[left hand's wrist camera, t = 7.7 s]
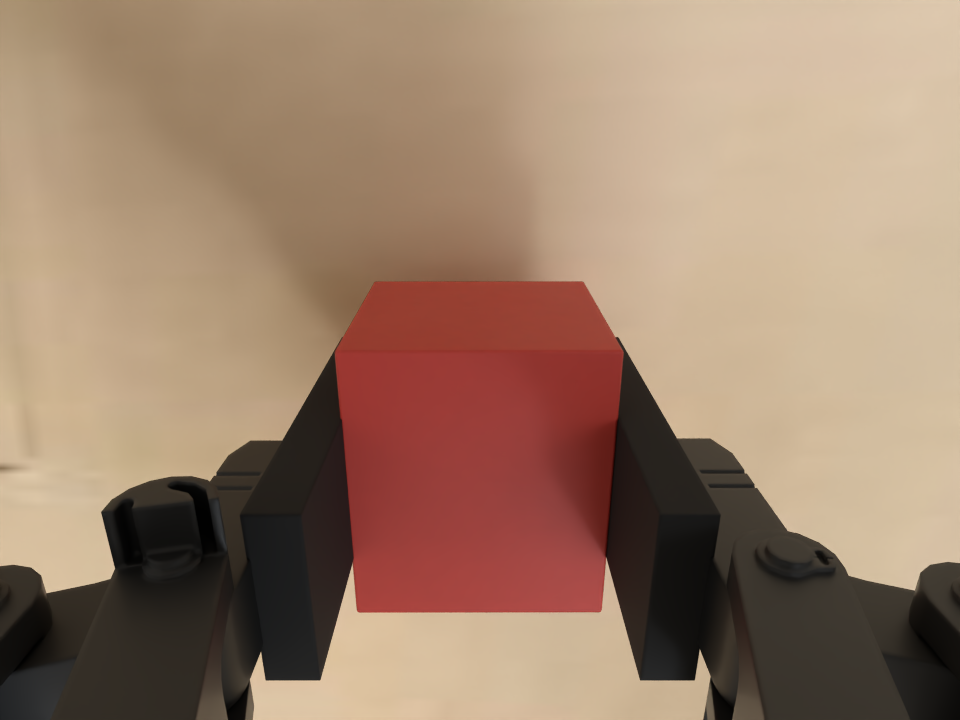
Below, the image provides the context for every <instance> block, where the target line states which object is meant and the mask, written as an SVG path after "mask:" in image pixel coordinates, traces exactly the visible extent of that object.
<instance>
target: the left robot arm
mask: <svg viewBox="0 0 960 720" xmlns="http://www.w3.org/2000/svg"><path fill="white" fill-rule="evenodd" d="M342 338H343V337H342ZM342 338H341V340H342ZM615 338H616V340H617V341H618V343H619V345H620V346H621V348H622V350H623V352H624V354H623V366H622V377H621V389H620V401H619V412H618V424H617V436H616V447H615V459H614V471H613V483H612V494H611V506H610V518H609V529H608V541H607V553H606V558H607V561H608V565H609V569H610V572H611V576H612V579H613V583H614V587H615V590H616V594H617V598H618V601H619V605H620V609H621V612H622V616H623V620H624V623H625V627H626V630H627V634H628V638H629V641H630V645H631V649H632V652H633V656H634V660H635V663H636V667H637V670H638V674H639V678H640V680H695V675H696V669H697V663H698V656H699V650H701V653H702V655H703V658H704V660H705V663H706V665H707V668H708V670H709V673H710V675H711V678H710V684H709V690H708V696H707V702H706V708H705V713H704V719H703V720H960V563H952V562H945V563H939V564H933V565H930V566H928V567H927V568H926V569H925V570H923V571H922V572H921V573H920V576H919V579H918V583H917V586H916V589H915V591H913V590H908V589H904V588H899V587H894V586H889V585H884V584H879V583H875V582H870V581H865V580H862V579H858V578H854V577H851V576H848V574H847V572H846V569H845V567H844V566H843V565H842V563H841V562H840V560H839V559H838V558H837V556H836V555H835V554H834V553H832V552H831V551H830V550H828V549H827V548H825V547H824V546H823V545H821V544H820V543H818V542H816V541H814V540H812V539H809V538H807V537H805V536H803V535H800V534H797V533H793V532H788V531H787V530H786V528H785V527H784V525H783V524H782V523H781V521H780V520H779V518H778V517H777V515H776V514H775V513H774V511H773V510H772V508H771V507H770V506H769V504H768V503H767V501H766V500H765V499H764V497H763V496H762V494H761V493H760V492H759V490H758V489H757V488H755V487H754V483H753V482H752V480H751V479H750V478H749V476H748V475H747V474H745V473H744V469H743V468H742V466H741V465H740V463H739V462H738V461H737V459H736V458H735V456H734V455H733V454H732V453H731V452H730V451H728V450H727V449H725V448H724V447H722V446H721V445H719V444H717V443H716V442H714V441H713V440H711V439H677V438H676V436H675V434H674V433H673V431H672V429H671V428H670V426H669V424H668V422H667V421H666V419H665V417H664V415H663V414H662V412H661V410H660V409H659V407H658V405H657V403H656V402H655V400H654V398H653V396H652V395H651V393H650V391H649V390H648V388H647V386H646V384H645V383H644V381H643V379H642V377H641V376H640V374H639V372H638V371H637V369H636V367H635V365H634V364H633V362H632V360H631V358H630V357H629V355H628V353H627V352H626V350H625V348H624V346H623V345H622V343H621V341H620V339H619V338H618V337H615ZM341 340H340V342H341ZM340 342H339V344H340ZM339 344H338V345H339ZM338 345H337V347H338ZM337 347H336V349H337ZM336 349H335V351H336ZM335 351H334V352H333V354H332V356H331V357H330V359H329V361H328V363H327V364H326V366H325V368H324V370H323V371H322V373H321V375H320V376H319V378H318V380H317V382H316V383H315V385H314V387H313V389H312V390H311V392H310V394H309V396H308V397H307V399H306V401H305V402H304V404H303V406H302V408H301V409H300V411H299V413H298V415H297V416H296V418H295V420H294V421H293V423H292V425H291V427H290V428H289V430H288V432H287V434H286V435H285V437H284V439H283V441H249V442H248V443H246V444H245V445H243V446H242V447H240V448H239V449H237V450H236V451H234V452H233V453H231V454H230V455H228V457H227V458H226V460H225V461H224V463H223V464H222V465H221V467H220V468H219V470H218V471H217V472H216V473H217V475H216V476H214V477H213V478H212V480H211V481H210V482H209V481H208V480H205V479H201V478H197V477H192V476H183V477H168V478H163V479H158V480H153V481H149V482H146V483H143V484H141V485H138V486H136V487H133V488H130V489H128V490H127V491H125V492H123V493H122V494H120V495H119V496H117V497H115V498H114V499H112V500H111V501H110V502H109V504H108V505H107V506H106V507H105V508H104V509H103V511H102V512H101V513H102V517H103V521H104V525H105V529H106V533H107V537H108V541H109V546H110V550H111V554H112V558H113V562H114V566H115V570H114V573H113V575H112V577H111V579H109V580H106V581H102V582H98V583H95V584H90V585H85V586H80V587H75V588H71V589H66V590H61V591H56V592H51V593H46V591H45V587H44V584H43V581H42V577H41V575H40V574H38V573H37V572H36V571H35V570H33V569H32V568H30V567H24V566H18V565H8V566H0V720H253V711H254V703H253V696H252V690H251V684H250V678H251V675H252V672H253V670H254V667H255V665H256V662H257V660H258V657H259V655H260V652H261V653H262V660H263V666H264V672H265V679H266V680H320V679H321V676H322V672H323V669H324V665H325V661H326V658H327V654H328V650H329V647H330V643H331V639H332V636H333V632H334V628H335V625H336V621H337V617H338V614H339V610H340V607H341V603H342V599H343V596H344V592H345V588H346V585H347V581H348V577H349V574H350V570H351V566H352V563H353V559H354V556H353V545H352V533H351V521H350V509H349V498H348V486H347V474H346V462H345V451H344V439H343V427H342V419H341V418H340V408H339V396H338V385H337V373H336V362H335Z"/></svg>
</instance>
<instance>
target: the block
mask: <svg viewBox="0 0 960 720" xmlns="http://www.w3.org/2000/svg"><path fill="white" fill-rule="evenodd" d="M623 354H624V352H623V350H622V348H621V346H620V345H619V343H618V341H617V340H616V338H615V336H614V334H613V333H612V331H611V329H610V327H609V326H608V324H607V322H606V320H605V319H604V317H603V315H602V313H601V312H600V310H599V308H598V306H597V305H596V303H595V301H594V300H593V298H592V296H591V294H590V293H589V291H588V289H587V287H586V286H585V284H584V282H374V284H373V286H372V288H371V289H370V291H369V293H368V295H367V296H366V298H365V300H364V302H363V303H362V305H361V307H360V309H359V310H358V312H357V314H356V316H355V317H354V319H353V321H352V323H351V324H350V326H349V328H348V330H347V331H346V333H345V335H344V337H343V338H342V340H341V342H340V344H339V345H338V347H337V349H336V351H335V362H336V373H337V385H338V396H339V408H340V418H341V419H342V427H343V439H344V451H345V462H346V474H347V486H348V498H349V509H350V521H351V533H352V545H353V556H354V559H353V571H354V583H355V594H356V606H357V611H358V612H601V610H602V600H603V588H604V576H605V565H606V553H607V541H608V529H609V518H610V506H611V494H612V483H613V471H614V459H615V447H616V436H617V424H618V412H619V401H620V389H621V377H622V366H623Z"/></svg>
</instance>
